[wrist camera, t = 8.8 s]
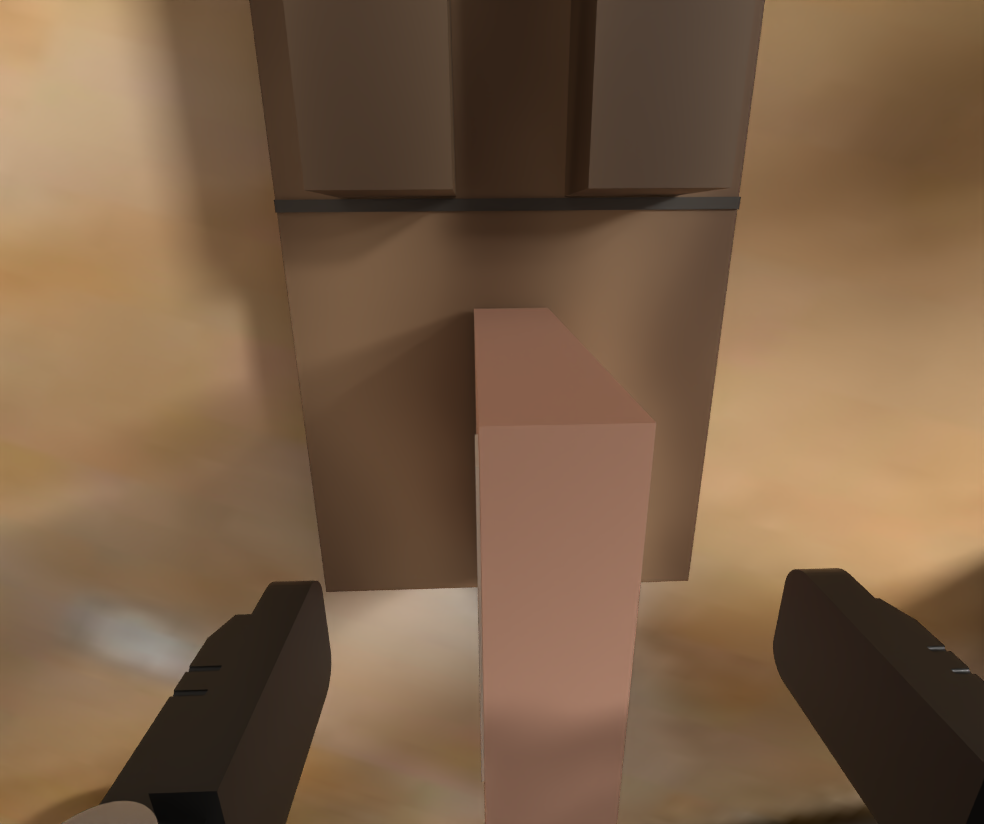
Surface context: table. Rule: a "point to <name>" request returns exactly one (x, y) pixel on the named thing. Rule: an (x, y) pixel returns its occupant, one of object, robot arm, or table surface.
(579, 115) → the block
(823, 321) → the table surface
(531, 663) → the stub
